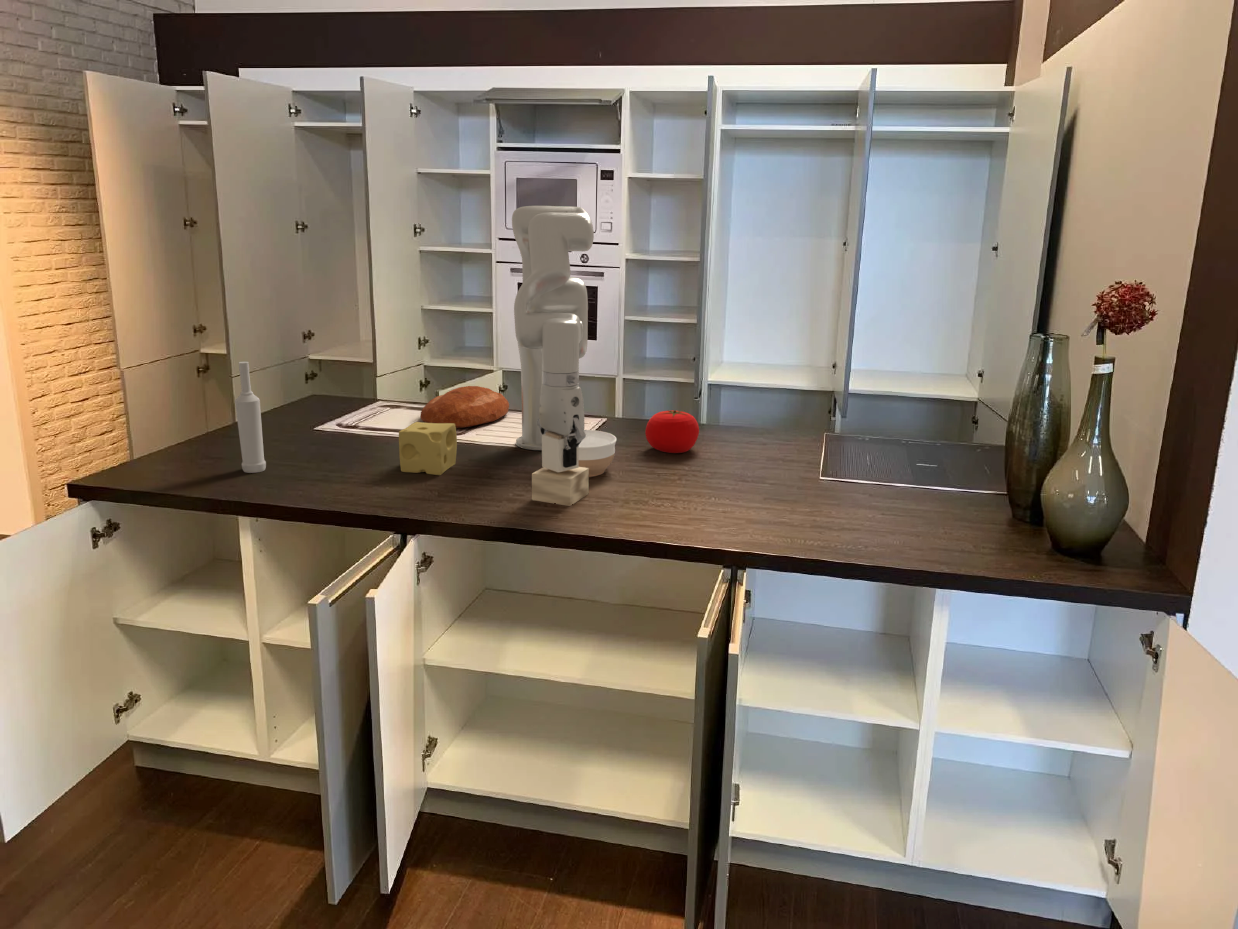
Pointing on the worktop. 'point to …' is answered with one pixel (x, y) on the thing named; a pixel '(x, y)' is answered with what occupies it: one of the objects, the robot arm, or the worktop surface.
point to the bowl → (596, 451)
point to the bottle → (249, 424)
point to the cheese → (427, 447)
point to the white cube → (555, 452)
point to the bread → (465, 407)
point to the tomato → (672, 431)
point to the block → (560, 485)
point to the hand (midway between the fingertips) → (560, 462)
